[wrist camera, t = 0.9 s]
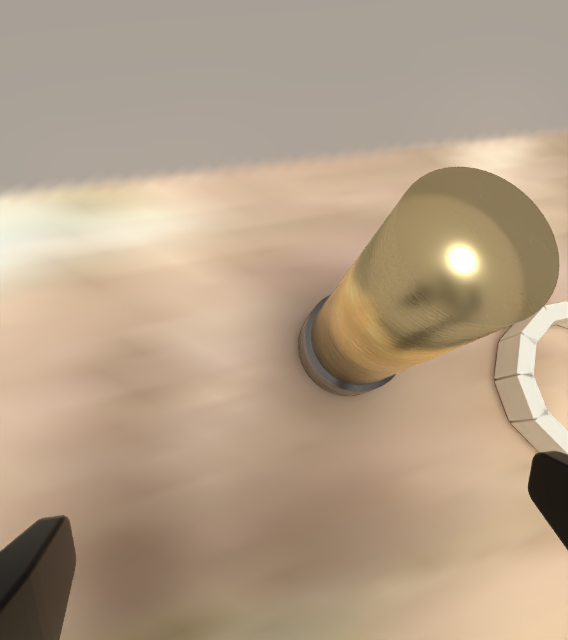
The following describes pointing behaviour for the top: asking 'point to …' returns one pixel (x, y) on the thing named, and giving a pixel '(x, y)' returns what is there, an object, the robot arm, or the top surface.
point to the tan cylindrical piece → (432, 281)
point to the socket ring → (529, 380)
